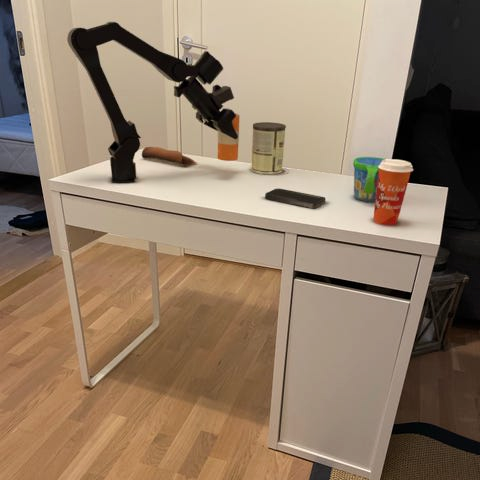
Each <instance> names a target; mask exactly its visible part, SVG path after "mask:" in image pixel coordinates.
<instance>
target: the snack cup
mask: <svg viewBox="0 0 480 480" xmlns="http://www.w3.org/2000/svg"><path fill="white" fill-rule="evenodd" d="M386 159H387V158H382V157H376V156H359V157H355V158H354V159H353V163H352V165H353V170H354V171H353V195H354V198H355V199H356V200H359V201H362V202H368V203H369V202H370V203H372V202H373V203H375V200H376V192H377V182H378V175H379V167H378V166H379V165H380V163H381V162H382V161H383V160H386Z"/></svg>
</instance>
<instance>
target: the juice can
mask: <svg viewBox="0 0 480 480" xmlns="http://www.w3.org/2000/svg"><path fill="white" fill-rule="evenodd" d="M234 113H235V112H234ZM235 114H236V117H235V118H234V119H233V120H232V124H233V127H234V129H235V131H236V133H237V136H238V138H237V139H236V140H235V139H233V138H231V137H229V136H228V135H226V134H224V133H222V132H220V131H217V157H216V158H217V159H218V160H219V161H223V162H224V161H225V162H234V161H237V160H239V143H240V142H239V141H240V117H241V116H240V114H239V113H235Z"/></svg>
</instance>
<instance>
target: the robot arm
mask: <svg viewBox="0 0 480 480" xmlns="http://www.w3.org/2000/svg"><path fill="white" fill-rule="evenodd" d="M66 38H67V40H66V41H67V44H68V46H69V48H70V50H71V51H72V53H73V54H74V56H75V57H76V58H77V60H78V61H79V62H80V64H81V66H82V67H83V68H84V70H85V71H86V73H87V75H88V77H89V80H90V81H91V84H92V86H93V88H94V90H95V92H96V95H97V96H98V99H99V101H100V103H101V105H102V107H103V109H104V112H105V114H106V116H107V118H108V120H109V124H110V127H111V133H112V136H113V140H114V141H112V143H111V144H110V145H109V147H108V148H107V151H108V153H109V155H110V156H111V157H110V158H109V163H110V171H111V179H110V180H111V181H110V182H111V183H135V180H137V165H136V162H135V161H134V159H135V155H136V153H138V151H139V150H140V147H141V141H140V139H141V138H142V137H141V135H139V133H138V130H137V127H136V124H135V123H134V122H132V121H131V120H128V121H127V119H126V118H125V116H124V114H123V112H122V110H121V108H120V105H119V102H118V101H117V98H116V97H115V94H114V92H113V90H112V87H111V85H110V83H109V81H108V78H107V77H106V73H105V71H104V69H103V67H102V65H101V60H100V55H99V50H98V46H102V45H104V44H107V43H109V42H112V41H113V42H114V43H117V44H118V45H120V46H121V47H123V48H124V49H126V50H128V51H130V52H131V53H133V54H134V55H135V56H138V57H139V58H141V59H142V60H144V61H146V62H147V63H149V64H151V66H153V68H155V70H156V71H157V72H159V73H160V74H161V75H162V76H163V77H165V79H167V81H171V82H174V83H179V84H178V85H174V86H173V96H174V97H176V98H180V97H181V96H183V97H184V98H185V99H186V100H187V101H188V102H189V104H190V105H191V108H192V109H193V110H195V111H197V112H195V119H196V120H197V121H198V122H199V123H201V124H203V125H205V126H206V127H207V128H210V129H212V130H214V131H216V132H218V131H220V132H222V133H224V134H226V135H228V136H229V137H231V138H233V139H235V140H236V139H237V138H238V136H237V133H236V131H235V129H234V127H233V124H232V120H233V119H234V118H235V117H236V114H237V113H236V114H235V111H234V110H232V109H230V108H228V107H227V108H224V105H223V104H225V103H227V102H229V101H232V100H234V99H235V96H234V93H233V91H232V87H231V86H228V85H222V86H220V85H219V84H214V85H212V88H211V89H212V91H211V92H209V91H207V89H206V88H205V87H204V86H205V85H210V86H211V84H212V83H213V82H214V81H215V80H216V79H217V78H218V77H219V75H220V74H221V73H222V72H223V71H224V66H223V64H222V63H221V62H220V61H219V60H218V59H217V58H216V57H214V55H212V54H211V53H210V52H209V51H207V50H204V51H203V52H202V54H201V55H200V57H199V58H198V60H197V61H196V62H195V63H194V64H189V63H188V64H187V63H186V61H184V60H183V59H181V58H178V57H176V56H173V55H171V54H168V53H166V52H163V51H160V50H159V49H157V48H156V47H154V46H152V45H150V44H149V43H148V42H147V41H144V40H143V39H142V38H140V37H138V36H137V35H135V34H134V33H132V32H130V31H129V30H127V29H126V28H125V27H122V26H121V24H119V23H118V22H117V21H107V22H106V23H104V24H101V25H97V26H93V27H90V28H85V27H73V28H72V29H70V31H69V32H68V33H67V37H66Z"/></svg>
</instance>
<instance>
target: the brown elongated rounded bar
mask: <svg viewBox="0 0 480 480" xmlns="http://www.w3.org/2000/svg"><path fill="white" fill-rule="evenodd" d="M141 157H142V159H157V160H160V161H166V162H170V163H174V164H178V165H181V166H182V167H184V168H185V167H190V166H193V165H195V164H197V162H196V161H195V160H194V159H193V158H190V157H188V156H186V155H183V153H181V151H179V150H171V149H167V148H163V147H159V146H146V147H144V148H143V149H142V151H141Z"/></svg>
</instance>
